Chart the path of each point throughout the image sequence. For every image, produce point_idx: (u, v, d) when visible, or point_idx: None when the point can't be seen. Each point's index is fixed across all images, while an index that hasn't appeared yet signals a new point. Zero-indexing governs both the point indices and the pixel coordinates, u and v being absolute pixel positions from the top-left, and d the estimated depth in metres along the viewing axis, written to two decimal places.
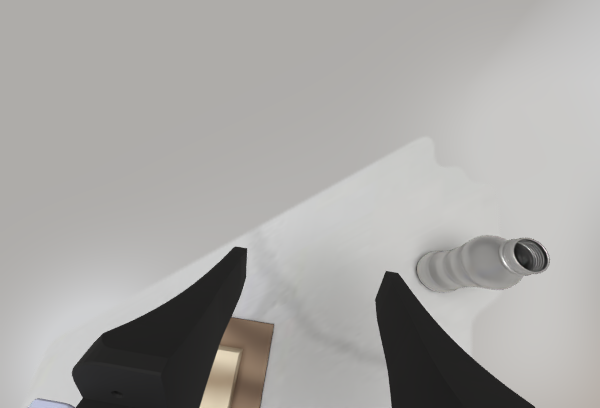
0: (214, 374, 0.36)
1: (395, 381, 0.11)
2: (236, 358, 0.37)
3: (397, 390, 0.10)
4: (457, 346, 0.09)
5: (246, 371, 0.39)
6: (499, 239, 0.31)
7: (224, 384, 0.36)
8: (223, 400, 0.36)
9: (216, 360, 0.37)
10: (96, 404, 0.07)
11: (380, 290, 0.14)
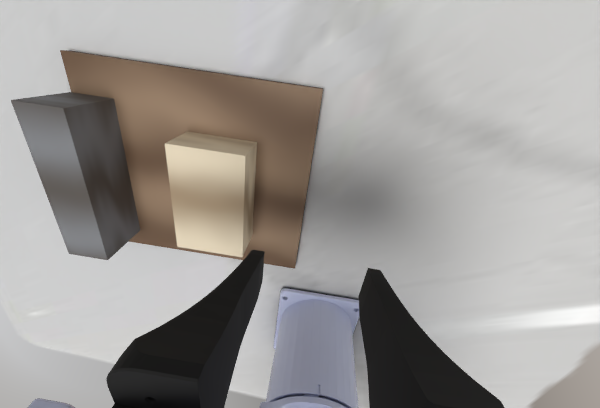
0: (205, 194, 0.18)
1: (373, 377, 0.11)
2: (242, 166, 0.17)
3: (374, 386, 0.10)
4: (431, 342, 0.09)
5: (271, 180, 0.20)
6: None
7: (228, 209, 0.18)
8: (233, 231, 0.19)
9: (201, 170, 0.17)
10: None
11: (363, 287, 0.14)
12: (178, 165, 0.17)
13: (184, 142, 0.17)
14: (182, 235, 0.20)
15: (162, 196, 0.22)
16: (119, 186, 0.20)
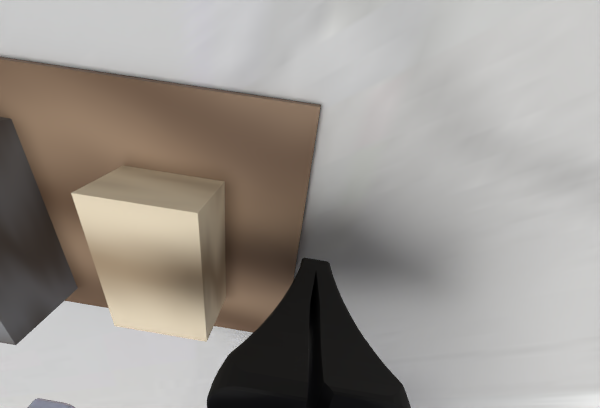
0: (143, 263, 0.12)
1: (308, 366, 0.11)
2: (194, 227, 0.11)
3: (308, 375, 0.10)
4: (355, 329, 0.09)
5: (247, 232, 0.14)
6: None
7: (180, 283, 0.12)
8: (190, 310, 0.13)
9: (133, 231, 0.11)
10: None
11: None
12: (97, 224, 0.11)
13: (106, 188, 0.11)
14: (119, 313, 0.14)
15: None
16: (32, 240, 0.14)
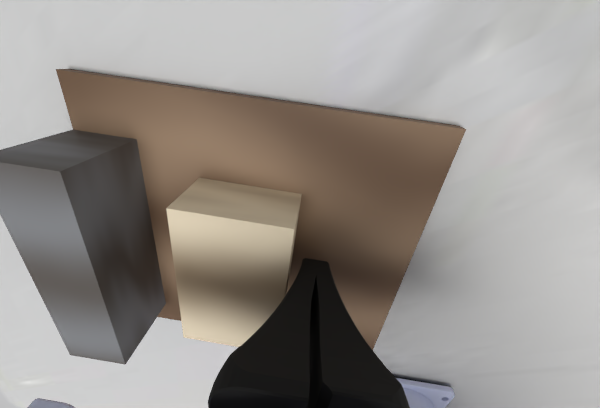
0: (227, 276, 0.12)
1: None
2: (287, 243, 0.11)
3: None
4: (355, 329, 0.09)
5: (358, 250, 0.14)
6: None
7: (261, 297, 0.12)
8: None
9: (222, 246, 0.11)
10: None
11: None
12: (187, 238, 0.11)
13: (196, 203, 0.11)
14: (191, 324, 0.14)
15: None
16: (141, 259, 0.14)
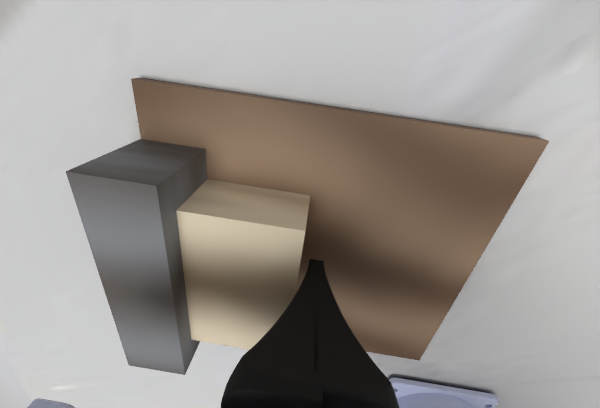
0: (236, 278, 0.12)
1: None
2: (298, 245, 0.10)
3: None
4: (347, 328, 0.09)
5: (420, 260, 0.14)
6: None
7: (270, 299, 0.12)
8: None
9: (232, 248, 0.11)
10: None
11: None
12: (197, 240, 0.11)
13: (206, 205, 0.11)
14: (199, 327, 0.14)
15: None
16: None
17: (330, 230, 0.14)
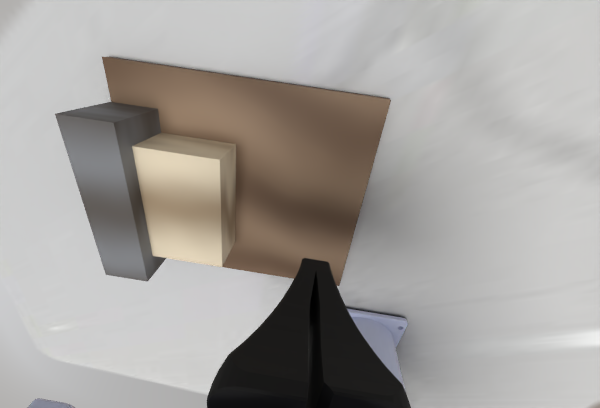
0: (179, 200, 0.16)
1: (308, 366, 0.11)
2: (217, 171, 0.15)
3: (308, 375, 0.10)
4: (355, 329, 0.09)
5: (323, 195, 0.19)
6: None
7: (204, 217, 0.17)
8: (210, 239, 0.18)
9: (173, 175, 0.16)
10: None
11: None
12: (148, 169, 0.16)
13: (154, 145, 0.16)
14: (157, 244, 0.18)
15: None
16: None
17: (254, 172, 0.18)
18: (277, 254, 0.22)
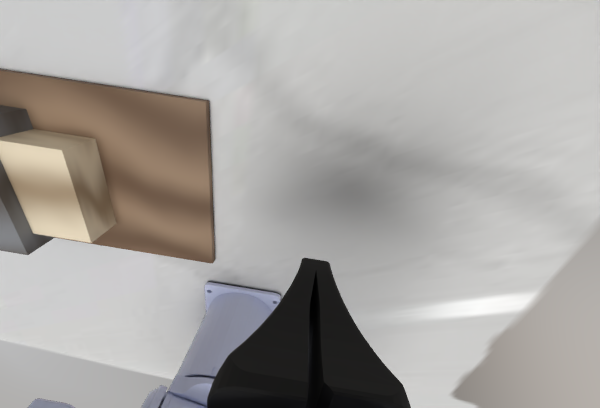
0: (40, 184, 0.20)
1: (308, 366, 0.11)
2: (62, 159, 0.19)
3: (308, 375, 0.10)
4: (355, 329, 0.09)
5: (176, 182, 0.22)
6: None
7: (64, 198, 0.20)
8: (75, 218, 0.21)
9: (29, 163, 0.19)
10: None
11: None
12: (9, 158, 0.19)
13: (14, 138, 0.19)
14: (34, 222, 0.22)
15: None
16: None
17: (116, 162, 0.22)
18: (154, 235, 0.25)
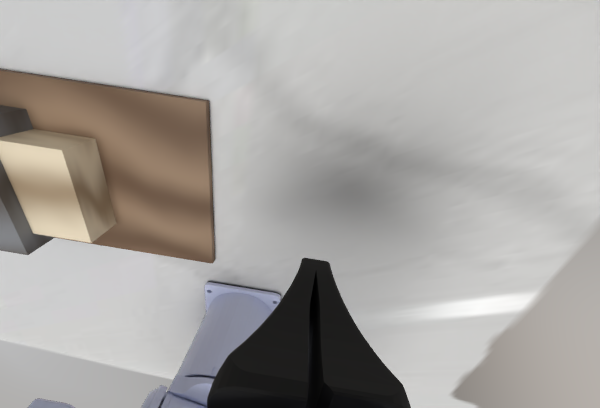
0: (40, 184, 0.20)
1: (308, 366, 0.11)
2: (62, 159, 0.19)
3: (308, 375, 0.10)
4: (355, 329, 0.09)
5: (176, 182, 0.22)
6: None
7: (64, 198, 0.20)
8: (75, 218, 0.21)
9: (29, 163, 0.19)
10: None
11: None
12: (9, 158, 0.19)
13: (14, 138, 0.19)
14: (34, 222, 0.22)
15: None
16: None
17: (116, 162, 0.22)
18: (154, 235, 0.25)
